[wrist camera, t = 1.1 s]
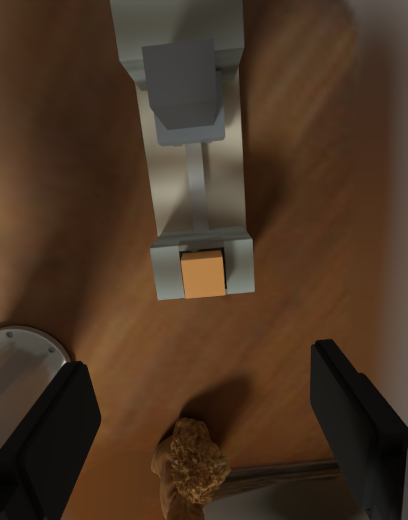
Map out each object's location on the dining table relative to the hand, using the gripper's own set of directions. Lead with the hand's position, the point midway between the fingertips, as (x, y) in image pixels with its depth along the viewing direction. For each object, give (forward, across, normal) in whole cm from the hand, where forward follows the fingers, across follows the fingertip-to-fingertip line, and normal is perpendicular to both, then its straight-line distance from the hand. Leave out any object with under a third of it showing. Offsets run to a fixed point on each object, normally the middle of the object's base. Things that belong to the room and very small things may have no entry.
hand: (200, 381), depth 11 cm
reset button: (+14, 0, 0) cm, 14 cm away
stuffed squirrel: (+23, +5, +31) cm, 39 cm away
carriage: (+21, 0, -13) cm, 25 cm away
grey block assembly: (+22, 0, -9) cm, 24 cm away
